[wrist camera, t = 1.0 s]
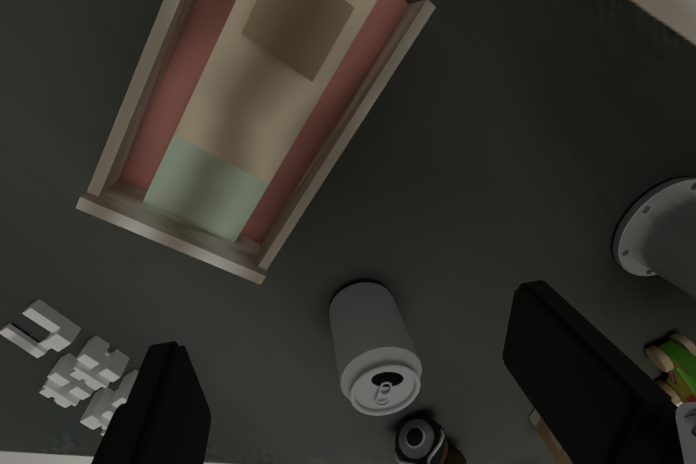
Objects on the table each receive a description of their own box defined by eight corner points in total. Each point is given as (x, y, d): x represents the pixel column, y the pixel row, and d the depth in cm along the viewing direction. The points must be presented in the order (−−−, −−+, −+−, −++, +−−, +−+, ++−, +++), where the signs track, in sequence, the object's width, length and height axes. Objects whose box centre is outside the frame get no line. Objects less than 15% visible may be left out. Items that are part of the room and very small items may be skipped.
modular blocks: (177, 388, 44) (168, 418, 40) (133, 414, 44) (120, 446, 41) (23, 279, 34) (-6, 306, 31) (-29, 316, 35) (-63, 346, 32)
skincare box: (544, 391, 55) (607, 476, 44) (568, 391, 56) (636, 474, 45) (526, 419, 57) (582, 505, 47) (549, 419, 58) (609, 504, 48)
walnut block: (345, 12, 26) (354, 8, 22) (308, 76, 27) (312, 82, 24) (282, -38, 24) (281, -52, 20) (247, 34, 25) (241, 33, 22)
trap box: (415, 11, 29) (441, 5, 24) (263, 252, 36) (260, 284, 32) (242, -139, 23) (231, -186, 18) (108, 182, 31) (75, 208, 26)
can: (400, 281, 41) (440, 364, 30) (382, 331, 44) (413, 423, 33) (335, 273, 39) (354, 359, 28) (322, 327, 42) (334, 422, 32)
